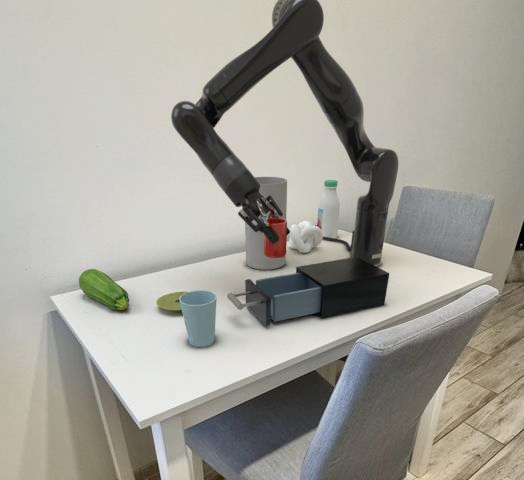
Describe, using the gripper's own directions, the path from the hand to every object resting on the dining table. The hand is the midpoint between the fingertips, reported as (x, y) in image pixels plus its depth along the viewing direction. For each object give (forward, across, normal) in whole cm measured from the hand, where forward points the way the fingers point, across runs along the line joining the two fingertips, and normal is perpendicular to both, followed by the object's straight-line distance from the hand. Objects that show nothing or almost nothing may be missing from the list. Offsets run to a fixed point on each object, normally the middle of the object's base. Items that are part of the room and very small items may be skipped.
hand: (282, 238), depth 100 cm
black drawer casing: (+21, +8, +3) cm, 23 cm away
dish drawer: (+13, -6, +10) cm, 17 cm away
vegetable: (-17, -18, +41) cm, 48 cm away
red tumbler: (+2, 0, +4) cm, 5 cm away
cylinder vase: (0, +26, +24) cm, 35 cm away
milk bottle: (+6, +62, +18) cm, 65 cm away
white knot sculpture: (+4, +43, +20) cm, 48 cm away
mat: (-4, -13, +28) cm, 31 cm away
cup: (+7, -25, +18) cm, 31 cm away
